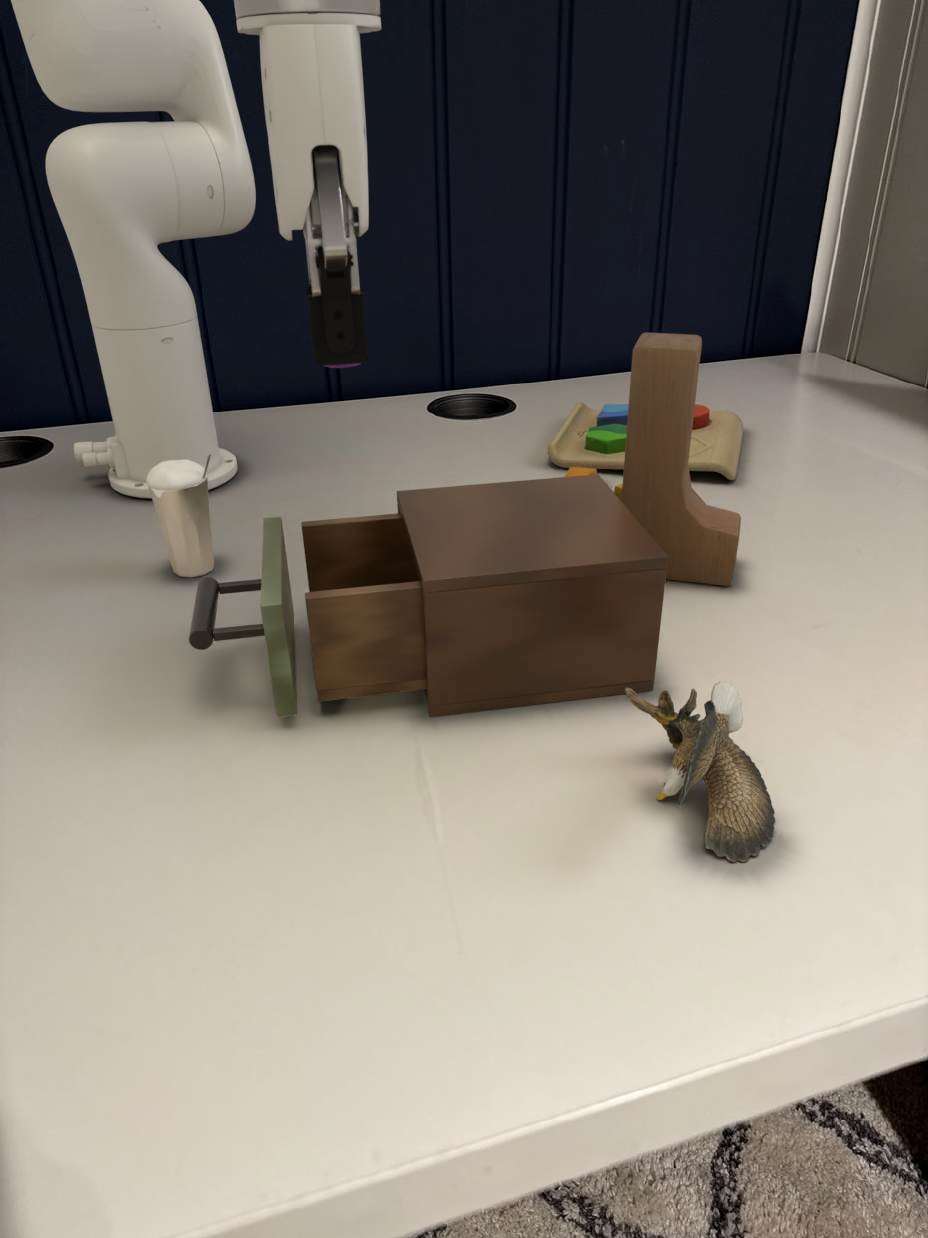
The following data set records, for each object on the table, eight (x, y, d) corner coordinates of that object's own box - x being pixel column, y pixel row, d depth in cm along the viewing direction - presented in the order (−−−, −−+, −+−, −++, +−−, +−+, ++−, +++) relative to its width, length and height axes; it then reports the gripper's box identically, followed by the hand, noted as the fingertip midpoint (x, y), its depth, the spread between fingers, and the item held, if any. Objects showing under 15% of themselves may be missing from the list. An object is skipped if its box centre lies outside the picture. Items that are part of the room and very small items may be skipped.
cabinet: (429, 717, 56) (423, 580, 51) (403, 610, 67) (396, 490, 62) (653, 690, 58) (668, 556, 53) (591, 591, 69) (598, 473, 64)
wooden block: (734, 562, 73) (768, 336, 64) (731, 588, 69) (767, 352, 60) (623, 550, 75) (640, 330, 66) (615, 574, 72) (632, 345, 62)
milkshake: (217, 584, 71) (196, 465, 66) (155, 579, 72) (130, 461, 67) (240, 559, 75) (222, 444, 70) (181, 554, 76) (159, 441, 71)
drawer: (197, 727, 54) (174, 614, 50) (211, 623, 64) (192, 523, 60) (495, 692, 56) (495, 582, 52) (461, 598, 67) (459, 500, 63)
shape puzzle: (578, 416, 106) (579, 387, 105) (743, 429, 101) (747, 399, 100) (525, 496, 86) (525, 462, 84) (729, 518, 80) (734, 482, 79)
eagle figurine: (586, 746, 51) (647, 833, 43) (653, 640, 50) (729, 708, 41) (689, 793, 53) (766, 884, 45) (755, 694, 52) (847, 768, 44)
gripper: (238, 13, 53) (277, 332, 62) (227, -21, 39) (280, 397, 48) (365, 11, 54) (385, 325, 63) (398, -22, 40) (418, 386, 49)
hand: (339, 353), depth 56 cm, fingers closed on glue stick, 2 cm apart
